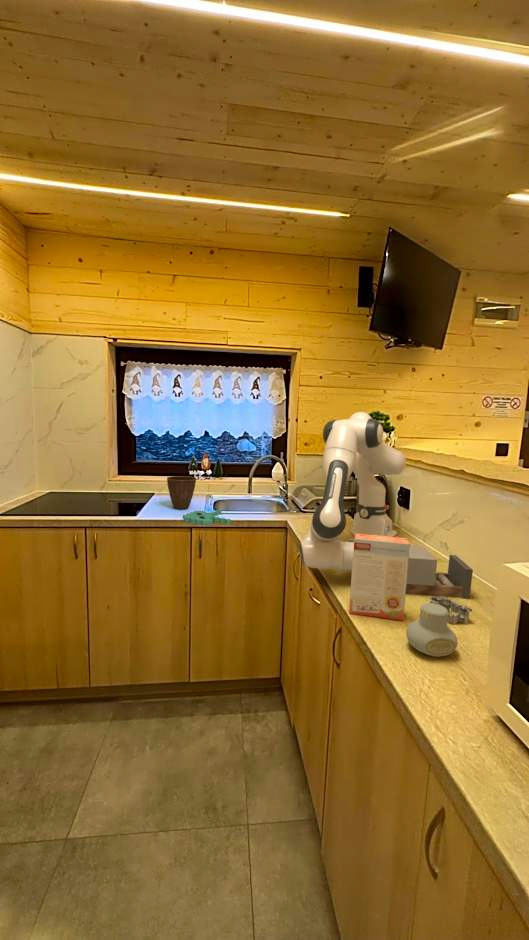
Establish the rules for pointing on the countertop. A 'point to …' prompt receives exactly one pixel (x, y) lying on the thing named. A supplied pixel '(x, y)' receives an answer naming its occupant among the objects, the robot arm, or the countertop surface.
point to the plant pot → (181, 491)
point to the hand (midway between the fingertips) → (395, 559)
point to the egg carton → (453, 609)
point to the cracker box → (379, 576)
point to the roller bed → (435, 589)
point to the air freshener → (432, 631)
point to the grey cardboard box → (421, 566)
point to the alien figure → (205, 517)
